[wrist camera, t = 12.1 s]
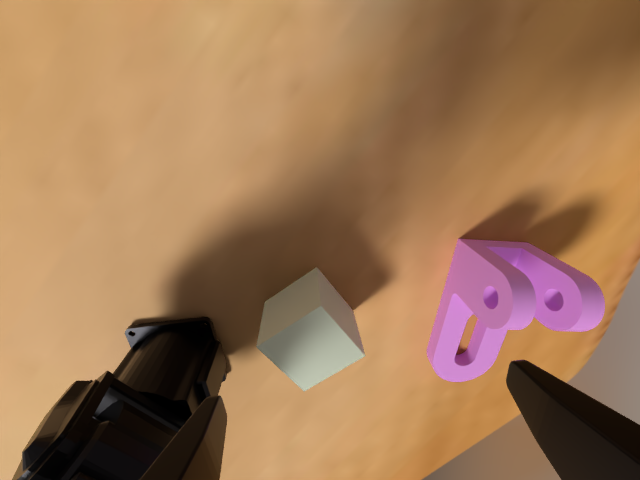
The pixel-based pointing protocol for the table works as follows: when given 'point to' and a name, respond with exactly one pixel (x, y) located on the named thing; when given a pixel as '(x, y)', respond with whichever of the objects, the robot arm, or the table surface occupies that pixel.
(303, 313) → the sage cube
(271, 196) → the table surface
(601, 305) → the bracket
